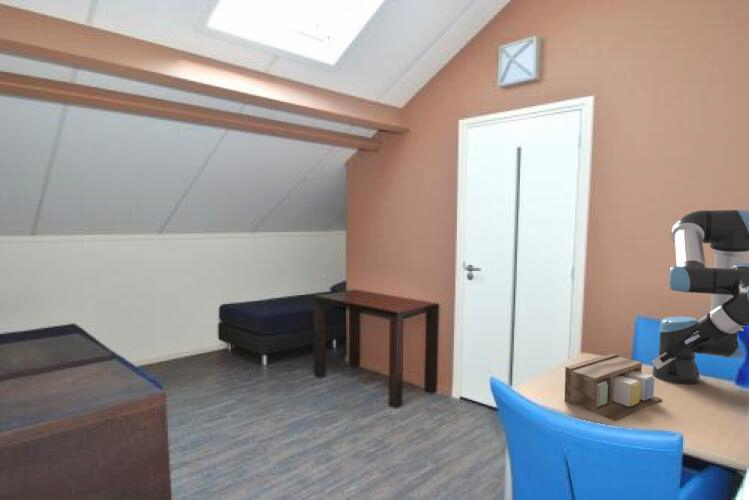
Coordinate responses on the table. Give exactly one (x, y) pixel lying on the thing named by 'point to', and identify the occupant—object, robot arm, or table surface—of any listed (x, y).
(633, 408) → the brown boxy piece
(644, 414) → the table surface
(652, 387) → the white and blue block
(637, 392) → the mustard key
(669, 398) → the table surface
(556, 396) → the table surface
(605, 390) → the sage key
